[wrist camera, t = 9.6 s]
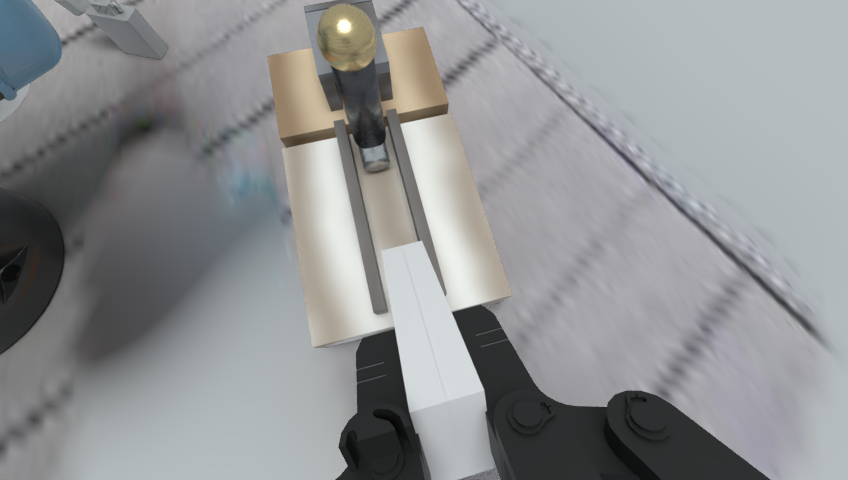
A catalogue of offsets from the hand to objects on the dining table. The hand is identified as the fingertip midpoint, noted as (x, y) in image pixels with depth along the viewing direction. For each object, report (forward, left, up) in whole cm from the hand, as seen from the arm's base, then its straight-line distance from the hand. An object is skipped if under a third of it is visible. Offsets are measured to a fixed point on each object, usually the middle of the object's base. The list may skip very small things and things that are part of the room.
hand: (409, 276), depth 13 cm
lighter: (-2, +39, -16) cm, 42 cm away
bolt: (+8, +15, -11) cm, 20 cm away
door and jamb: (+6, +10, -15) cm, 19 cm away
